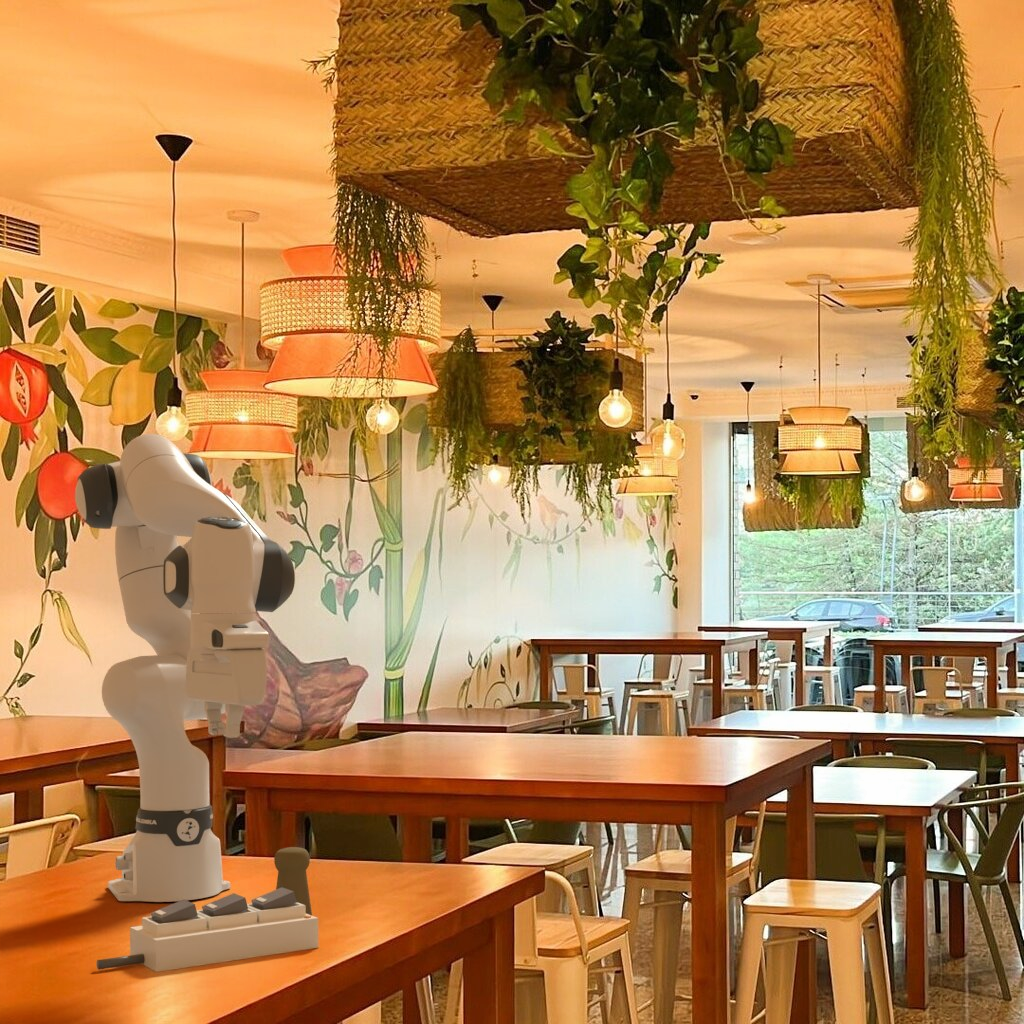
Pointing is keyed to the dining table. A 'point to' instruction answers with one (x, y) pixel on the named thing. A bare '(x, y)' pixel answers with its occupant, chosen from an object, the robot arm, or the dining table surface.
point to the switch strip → (218, 938)
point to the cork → (294, 873)
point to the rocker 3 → (275, 899)
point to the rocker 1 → (175, 912)
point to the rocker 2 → (226, 906)
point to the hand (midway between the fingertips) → (223, 736)
